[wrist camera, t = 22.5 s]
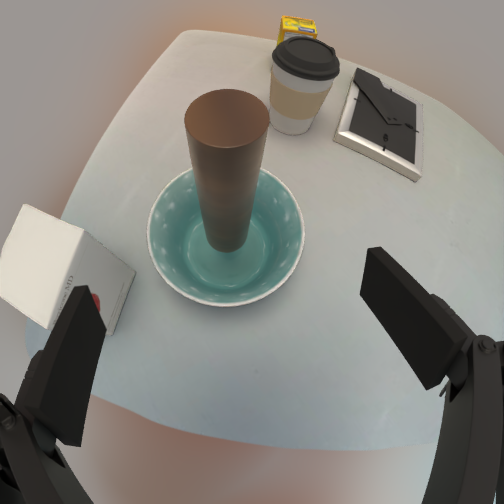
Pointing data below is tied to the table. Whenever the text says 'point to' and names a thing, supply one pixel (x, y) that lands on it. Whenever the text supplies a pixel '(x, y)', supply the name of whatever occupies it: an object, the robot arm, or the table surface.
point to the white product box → (59, 269)
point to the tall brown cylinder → (226, 161)
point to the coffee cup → (300, 82)
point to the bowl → (219, 263)
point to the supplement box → (296, 28)
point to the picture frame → (383, 125)
